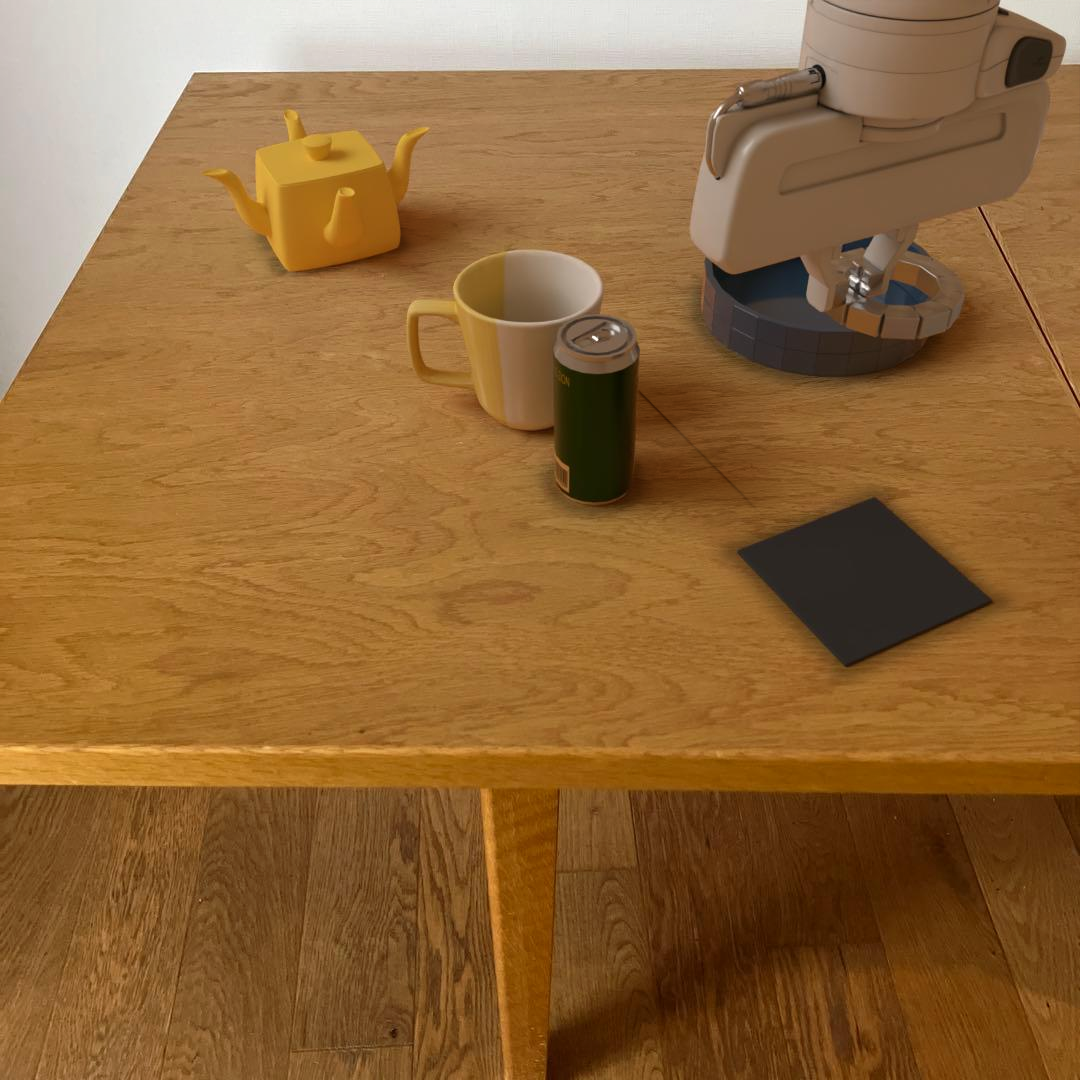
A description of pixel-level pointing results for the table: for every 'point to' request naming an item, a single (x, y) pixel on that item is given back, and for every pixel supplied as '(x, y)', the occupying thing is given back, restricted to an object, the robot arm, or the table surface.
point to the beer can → (595, 408)
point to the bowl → (799, 320)
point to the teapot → (324, 196)
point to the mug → (510, 329)
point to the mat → (862, 580)
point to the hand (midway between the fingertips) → (846, 298)
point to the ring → (902, 318)
